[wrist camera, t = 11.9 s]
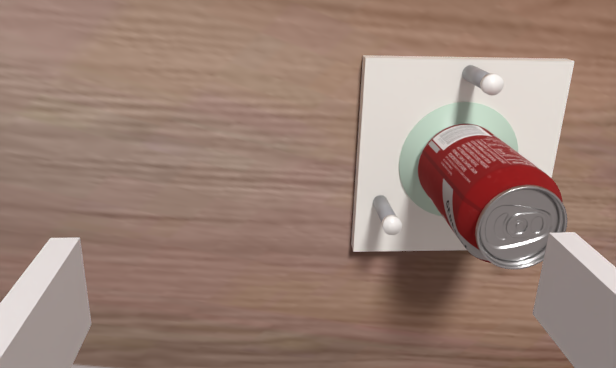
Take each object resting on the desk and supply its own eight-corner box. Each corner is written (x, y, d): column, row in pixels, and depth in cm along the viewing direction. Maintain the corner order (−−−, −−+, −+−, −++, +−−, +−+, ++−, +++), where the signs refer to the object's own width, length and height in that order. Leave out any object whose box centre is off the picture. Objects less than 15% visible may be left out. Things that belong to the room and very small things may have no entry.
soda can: (416, 123, 43) (471, 179, 32) (502, 118, 43) (586, 172, 32) (413, 203, 46) (462, 282, 34) (494, 198, 46) (569, 274, 35)
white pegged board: (351, 244, 48) (362, 280, 43) (362, 55, 42) (377, 68, 37) (531, 242, 49) (564, 276, 44) (566, 58, 44) (609, 72, 38)
